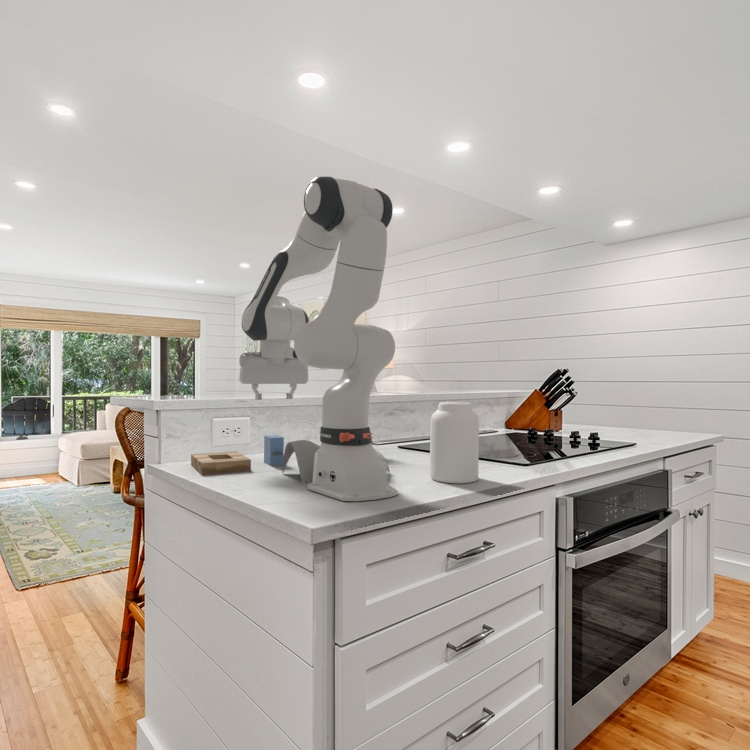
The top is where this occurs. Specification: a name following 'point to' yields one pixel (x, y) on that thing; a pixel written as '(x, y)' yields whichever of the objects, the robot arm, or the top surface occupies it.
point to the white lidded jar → (454, 443)
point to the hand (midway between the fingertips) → (274, 399)
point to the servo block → (273, 450)
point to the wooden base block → (220, 462)
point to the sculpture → (308, 457)
